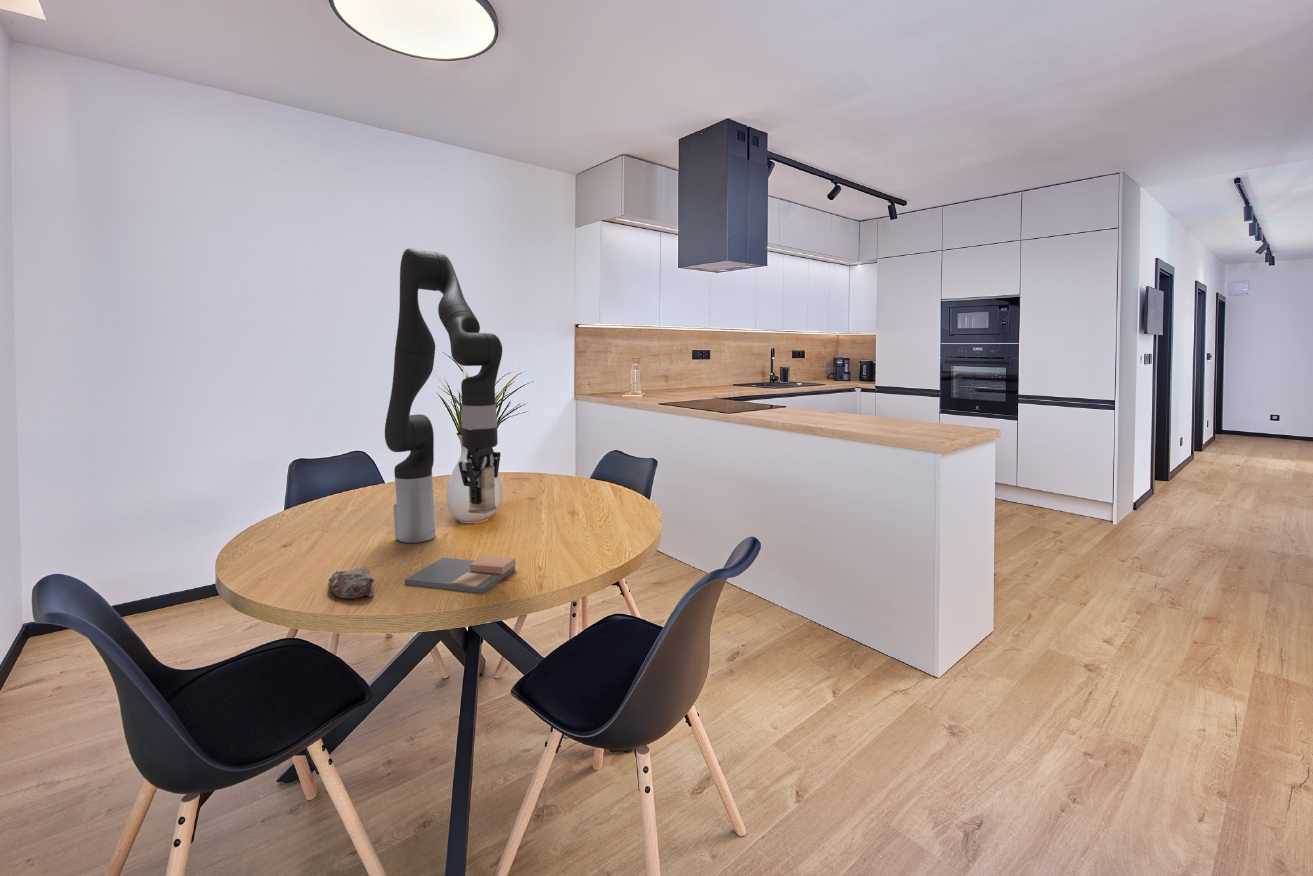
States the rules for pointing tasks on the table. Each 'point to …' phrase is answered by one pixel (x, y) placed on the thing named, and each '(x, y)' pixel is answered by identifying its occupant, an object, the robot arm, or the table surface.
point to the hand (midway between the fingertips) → (481, 500)
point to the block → (485, 493)
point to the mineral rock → (352, 583)
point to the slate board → (451, 576)
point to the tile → (492, 564)
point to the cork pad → (471, 579)
